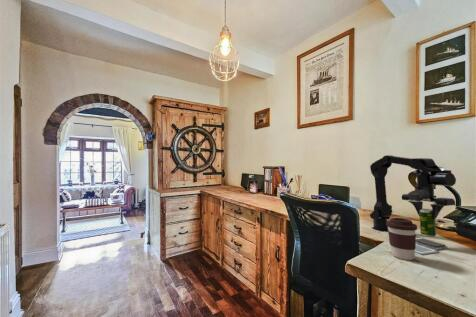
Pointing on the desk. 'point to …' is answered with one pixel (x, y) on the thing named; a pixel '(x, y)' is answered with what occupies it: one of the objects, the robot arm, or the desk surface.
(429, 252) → the mat
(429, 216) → the green soda can
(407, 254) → the coffee cup
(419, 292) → the desk surface
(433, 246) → the ink pad
